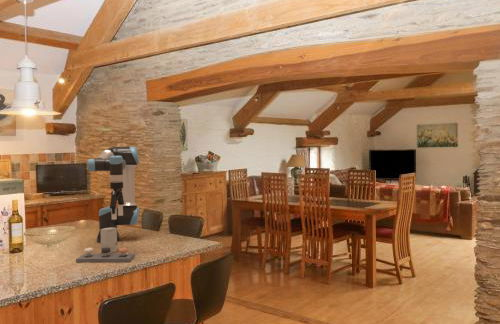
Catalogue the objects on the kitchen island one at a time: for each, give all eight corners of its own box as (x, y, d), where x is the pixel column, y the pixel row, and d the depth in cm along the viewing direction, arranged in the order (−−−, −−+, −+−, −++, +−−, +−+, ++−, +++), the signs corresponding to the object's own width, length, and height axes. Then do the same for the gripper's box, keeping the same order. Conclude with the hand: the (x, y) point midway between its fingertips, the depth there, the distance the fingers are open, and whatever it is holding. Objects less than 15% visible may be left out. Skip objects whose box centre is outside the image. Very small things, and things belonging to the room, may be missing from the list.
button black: (103, 256, 265) (103, 247, 265) (111, 255, 265) (111, 247, 265) (100, 258, 260) (100, 249, 260) (108, 258, 260) (108, 249, 260)
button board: (84, 257, 269) (83, 253, 269) (134, 256, 268) (134, 253, 268) (76, 262, 257) (75, 259, 257) (129, 262, 256) (129, 258, 256)
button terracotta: (120, 255, 265) (120, 247, 265) (128, 255, 265) (128, 247, 265) (118, 258, 260) (117, 249, 260) (126, 257, 260) (126, 249, 260)
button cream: (86, 256, 265) (85, 247, 265) (94, 256, 265) (94, 247, 265) (83, 258, 260) (82, 249, 260) (91, 258, 260) (91, 249, 260)
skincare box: (107, 254, 276) (106, 229, 275) (100, 253, 278) (99, 228, 278) (117, 251, 283) (117, 227, 282) (110, 250, 286) (110, 226, 285)
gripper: (116, 180, 283) (117, 214, 284) (103, 183, 258) (104, 221, 259) (128, 179, 283) (129, 213, 284) (116, 183, 258) (117, 221, 259)
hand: (117, 217), depth 272 cm, fingers open, 13 cm apart
